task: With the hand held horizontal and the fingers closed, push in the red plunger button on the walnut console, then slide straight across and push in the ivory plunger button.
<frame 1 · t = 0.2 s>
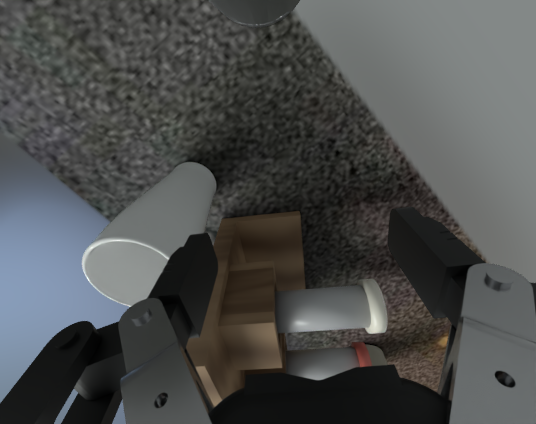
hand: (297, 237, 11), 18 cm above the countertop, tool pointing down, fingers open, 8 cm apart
travel mug: (361, 353, 48), on the countertop
console: (250, 272, 37), on the countertop
ivory button: (323, 308, 24), point 11 cm above the countertop, slide at 0.0 cm
drinking glass: (195, 181, 29), on the countertop
red button: (324, 366, 29), point 11 cm above the countertop, slide at 0.0 cm
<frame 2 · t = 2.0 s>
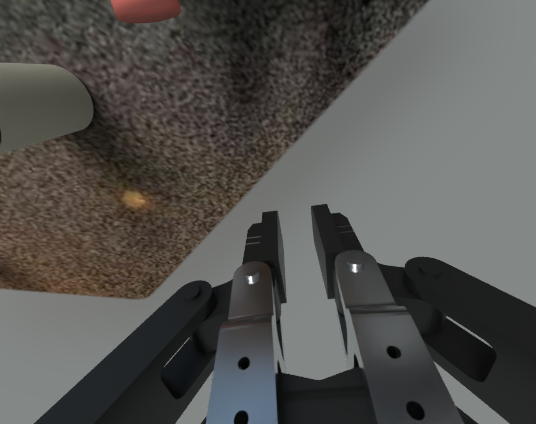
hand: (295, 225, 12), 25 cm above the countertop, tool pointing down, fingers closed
travel mug: (64, 99, 33), on the countertop
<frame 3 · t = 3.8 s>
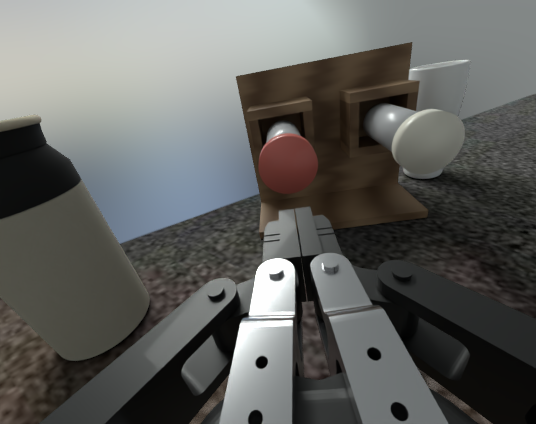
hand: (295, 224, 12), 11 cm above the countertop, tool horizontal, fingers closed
travel mug: (109, 321, 24), on the countertop
console: (328, 198, 37), on the countertop
ivory button: (400, 130, 23), point 11 cm above the countertop, slide at 0.0 cm
drinking glass: (421, 174, 39), on the countertop
red button: (285, 149, 24), point 11 cm above the countertop, slide at 0.0 cm
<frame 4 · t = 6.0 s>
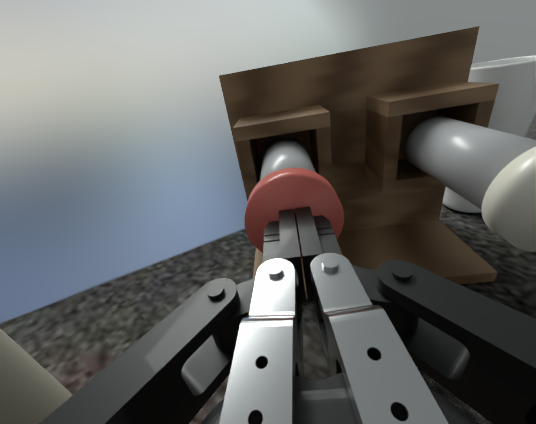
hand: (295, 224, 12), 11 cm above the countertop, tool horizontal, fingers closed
console: (344, 238, 28), on the countertop
ivory button: (478, 164, 14), point 11 cm above the countertop, slide at 0.0 cm
drinking glass: (465, 205, 30), on the countertop
red button: (288, 183, 16), point 11 cm above the countertop, slide at 1.2 cm, touching gripper
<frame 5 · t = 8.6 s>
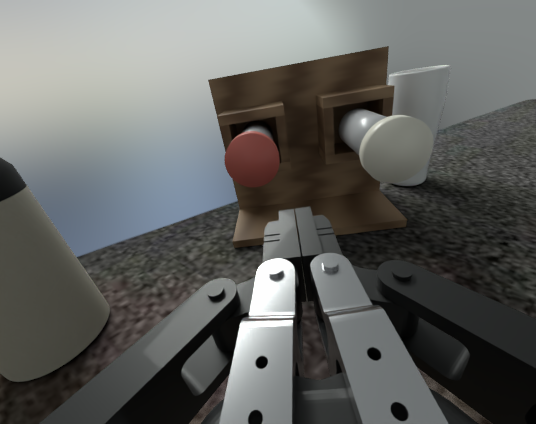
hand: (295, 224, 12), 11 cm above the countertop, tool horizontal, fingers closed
travel mug: (64, 337, 22), on the countertop
console: (308, 206, 36), on the countertop
ivory button: (373, 137, 22), point 11 cm above the countertop, slide at 0.0 cm
drinking glass: (405, 181, 38), on the countertop
red button: (255, 147, 26), point 11 cm above the countertop, slide at 3.2 cm
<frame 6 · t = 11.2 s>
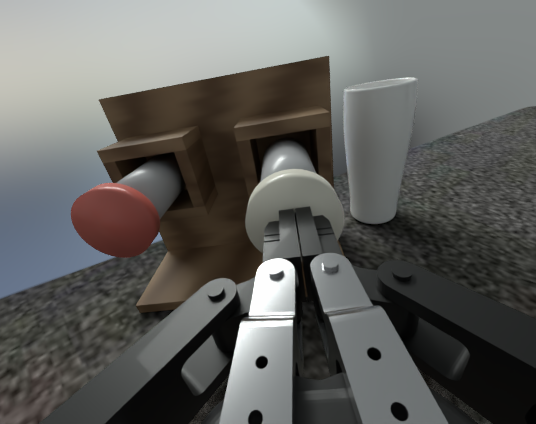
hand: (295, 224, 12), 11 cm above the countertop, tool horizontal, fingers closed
console: (250, 248, 29), on the countertop
ivory button: (288, 184, 16), point 11 cm above the countertop, slide at 0.9 cm, touching gripper
drinking glass: (372, 216, 31), on the countertop
red button: (148, 192, 19), point 11 cm above the countertop, slide at 3.2 cm
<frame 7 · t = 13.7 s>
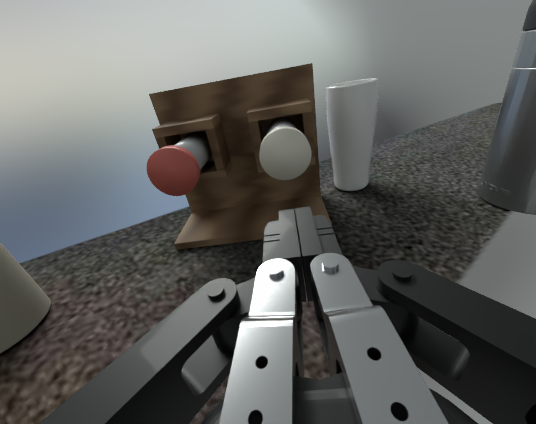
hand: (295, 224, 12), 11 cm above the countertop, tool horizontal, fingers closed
travel mug: (6, 330, 25), on the countertop
console: (255, 209, 38), on the countertop
ivory button: (283, 142, 27), point 11 cm above the countertop, slide at 3.2 cm
drinking glass: (350, 186, 40), on the countertop
red button: (187, 157, 28), point 11 cm above the countertop, slide at 3.2 cm
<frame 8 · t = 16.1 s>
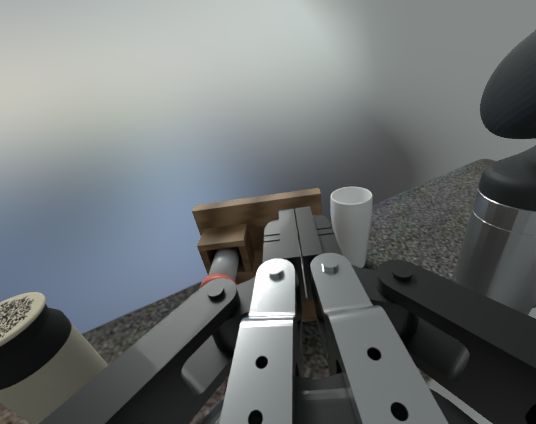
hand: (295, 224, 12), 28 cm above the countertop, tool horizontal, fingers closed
travel mug: (92, 408, 33), on the countertop
console: (272, 286, 46), on the countertop
ivory button: (298, 258, 35), point 11 cm above the countertop, slide at 3.2 cm
drinking glass: (350, 263, 48), on the countertop
red button: (224, 267, 36), point 11 cm above the countertop, slide at 3.2 cm
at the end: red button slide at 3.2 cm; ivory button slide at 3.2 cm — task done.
